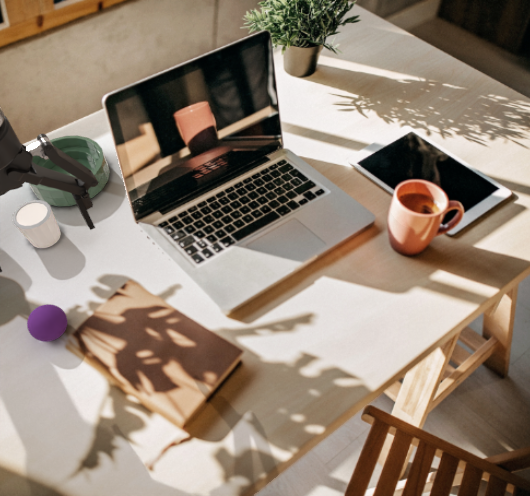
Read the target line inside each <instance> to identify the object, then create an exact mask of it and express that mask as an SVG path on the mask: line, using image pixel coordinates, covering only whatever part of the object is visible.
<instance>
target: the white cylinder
mask: <svg viewBox="0 0 530 496" xmlns="http://www.w3.org/2000/svg"><path fill="white" fill-rule="evenodd" d="M11 220H12V224H13V225H14V226H15V227H16V228H17V229H18V230H19V232H20V233H21V234H22V235H23V236H24V237H25V238H26V239H27V240H28V242H29V243H30V244H31V245H32V246H33V247H35V248H38V249H47V248H50V247H52V246H53V245H55V244H56V243H57V242H59V240H60V238H61V234H62V233H61V229H60V226H59V223H58V222H57V219H56V217H55V214H54V212H53V210H52V207H51V205H50V204H48V203H47V202H45V201H41V200H39V199H33V200H28V201H26V202H24V203H22V204H21V205H19V206H18V207H17V208H16V209H15V210H14V211H13V214H12V217H11Z"/></svg>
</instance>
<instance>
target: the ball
mask: <svg viewBox="0 0 530 496" xmlns="http://www.w3.org/2000/svg"><path fill="white" fill-rule="evenodd" d="M26 326H27V331H28V333H29V335H30V336H31V337H32V338H34V339H35V340H37V341H40V342H43V343H44V342H47V343H48V342H52V341H55V340H57V339H59V338H60V337H61V336H63V334H64V333H65V332H66V331H67V327H68V317H67V314H66V313H65V311H64V310H63V309H62V308H61V307H59V305H55V304H49V303H47V304H42V305H38V306H37V307H35V308H34V309H33V310H32V311H31V312H30V314H29V315H28V318H27V321H26Z"/></svg>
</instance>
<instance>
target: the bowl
mask: <svg viewBox="0 0 530 496" xmlns="http://www.w3.org/2000/svg"><path fill="white" fill-rule="evenodd" d="M49 140H50V141H51V143H52V144H53V145H54V146H55V147H57V148H58V149H60V150H61V151H63V152H64V153H66V154H67V155H69V156H70V157H72V158H73V159H75V160H76V161H78V162H79V163H81V164H82V165H84V166H85V167H87V168H88V169H90V170H91V171H92V173H93V174H94V176H95V177H96V179H97V180H98V185H97V186H96V187H90V188H89V190H88V193H89V194H90V198H91V199H93V198H94V197H96V196H97V194H99V193H100V192H102V191H103V189H104V188H105V187H106V185H107V183H108V181H109V178H110V174H111V172H110V167H109V164H108V161H107V158H106V156H105V153H104V150H103V148H102V147H101V145H100V144H99V143H98V142H97V141H95V140H93V139H92V138H89V137H86V136H82V135H64V136H63V135H62V136H58V137H55V138H52V139H49ZM32 162H34V163H35V164H36V165H38V166H41V167H44V168H47V169H51V170H54V171H57V172H60V173H63V174H67V175H70V176H73V175H72V174H70V173H68V172H67V171H65V170H64V169H62V168H60V167H59V166H57V165H56V164H54V163H53V162H52V161H51V160H50V159H49V158H48V159H47V160H45V159H44V158H41V157H39V156H33V161H32ZM73 177H75V176H73ZM28 185H29V187H30V188H31V190H32V192H33V193H34V195H35V197H36V198H37V200H41V201H45V202H47V203H48V204H49V205H50V206H55V207H71V206H75V205H77V204H76V202H75V200H74V198H73V196H72V194H71V193H69V192H66V191H62V190H58V189H55V188H51V187H48V186H44V185H41V184H39V185H33V184H30V183H28Z"/></svg>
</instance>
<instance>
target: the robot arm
mask: <svg viewBox="0 0 530 496" xmlns="http://www.w3.org/2000/svg"><path fill="white" fill-rule="evenodd" d="M4 112H5V111H4V110H3V108H2V106H1V105H0V197H1V196H3V195H5V194H7V193H8V192H11V191H14V190H18V189H21V188H22V187H24V184H25V183H26V184H29V183H30V184H33V185H39V184H41V185H44V186H48V187H51V188H55V189H58V190H62V191H66V192H69V193H71V194H72V196H73V198H74V200H75V202H76V204H75V205H76V207H77V208H78V210H79V212H80V214H81V216H82V218H83V219H84V222H85V223H86V225H87V227H88V228H89V230H90V231H92V230H93V229H96V225H95V224H94V222H93V220H92V218H91V216H90V213H89V211H88V210H89V209H92V208H93V207H94V203H93V201H92V198H90V194H89V193H88V190H89V188H90V187H96V186H97V185H98V180H97V179H96V177H95V176H94V174H93V173H92V171H91V170H90V169H88V168H87V167H85V166H84V165H82V164H81V163H79V162H78V161H76V160H75V159H73V158H72V157H70V156H69V155H67V154H66V153H64V152H63V151H61V150H60V149H58V148H57V147H55V146H54V145H53V144H52V143H51V141H50V140H51V139H49V137H48V135H47V134H45V133H40V134H38V135H37V136H36V140H37V141H35V142H33V143H30V144H29V145H27V146H26V145H25V144H23V143H22V142H21V141H20V138H19V137H18V136H17V133H16V131H15V129H14V128H13V126H12V125H11V123H10V121H9V119H8V117H7V116H6V115H5V113H4ZM33 156H39V157H41V158H44V159H45V160H47V159H48V158H49V159H50V160H51V161H52V162H53V163H54V164H56V165H57V166H59V167H60V168H62V169H64V170H65V171H67V172H68V173H70V174H72V175H73V176H75V177H73V176H70V175H67V174H63V173H60V172H57V171H54V170H51V169H47V168H44V167H41V166H38V165H36V164H35V163H34V162H32V161H33ZM2 272H3V269H2V267H1V266H0V273H2Z"/></svg>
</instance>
